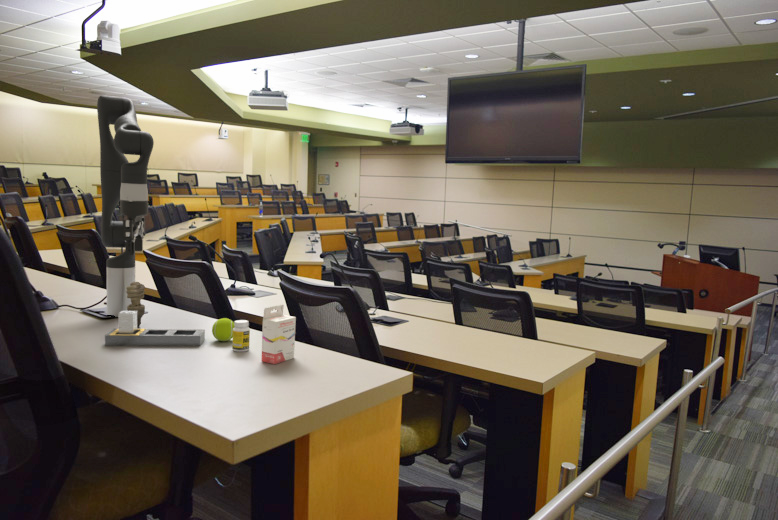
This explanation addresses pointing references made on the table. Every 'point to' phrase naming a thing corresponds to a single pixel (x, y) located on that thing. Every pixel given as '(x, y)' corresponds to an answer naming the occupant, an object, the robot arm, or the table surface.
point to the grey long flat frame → (156, 337)
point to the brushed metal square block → (127, 322)
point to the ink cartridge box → (277, 335)
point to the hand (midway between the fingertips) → (134, 252)
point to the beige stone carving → (136, 299)
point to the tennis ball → (223, 329)
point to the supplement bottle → (241, 336)
